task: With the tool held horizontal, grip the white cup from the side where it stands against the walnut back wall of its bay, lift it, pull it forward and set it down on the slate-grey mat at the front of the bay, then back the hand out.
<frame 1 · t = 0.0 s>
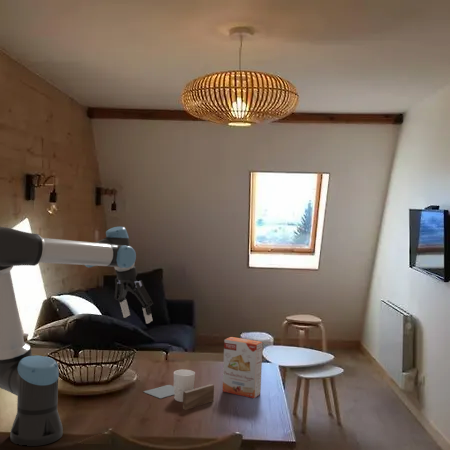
hand: (138, 319, 218), 28 cm above the table, tool tilted 20°, fingers open, 13 cm apart
white cup: (183, 399, 212), on the table
front mat: (164, 391, 220), on the table
cracker box: (241, 394, 221), on the table
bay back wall: (198, 404, 207), on the table
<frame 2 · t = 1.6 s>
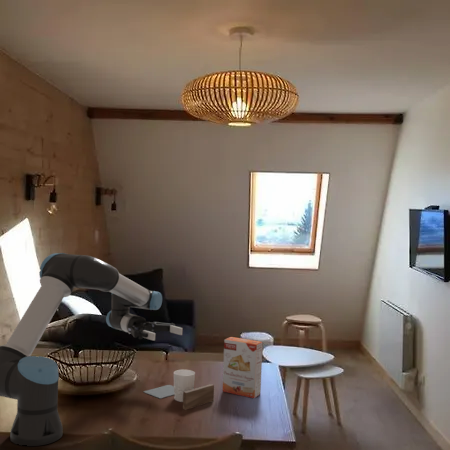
hand: (168, 334, 218), 23 cm above the table, tool horizontal, fingers open, 13 cm apart
nothing on the table moved.
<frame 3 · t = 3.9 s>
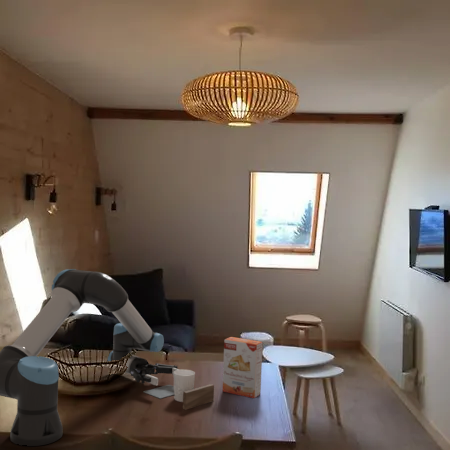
hand: (171, 378, 218), 6 cm above the table, tool horizontal, fingers open, 13 cm apart
nothing on the table moved.
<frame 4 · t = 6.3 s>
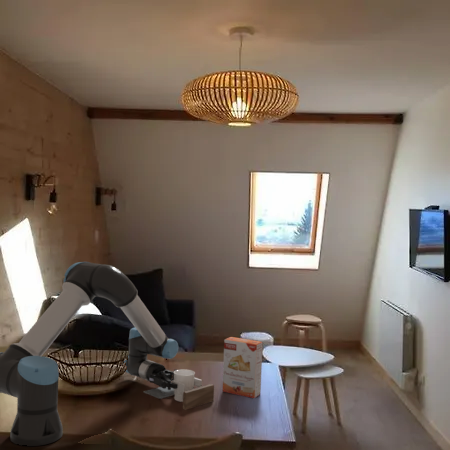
hand: (192, 386, 209), 6 cm above the table, tool horizontal, fingers closed on white cup, 8 cm apart
white cup: (183, 399, 212), on the table, touching gripper
everything else where it was.
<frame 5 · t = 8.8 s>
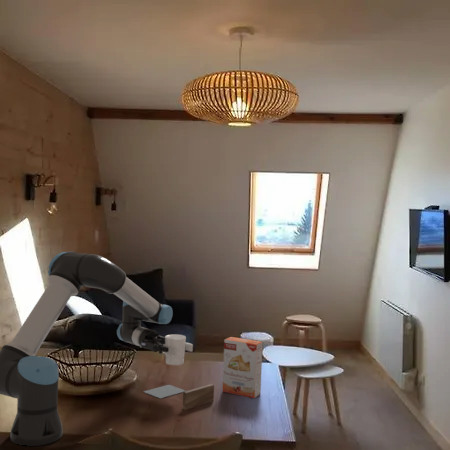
hand: (183, 349, 212), 18 cm above the table, tool horizontal, fingers closed on white cup, 8 cm apart
white cup: (174, 363, 216), point 12 cm above the table, touching gripper
everything else where it was.
when the fingers open (8 cm above the table, at t = 11.5 s): white cup drops 1 cm, resting on front mat.
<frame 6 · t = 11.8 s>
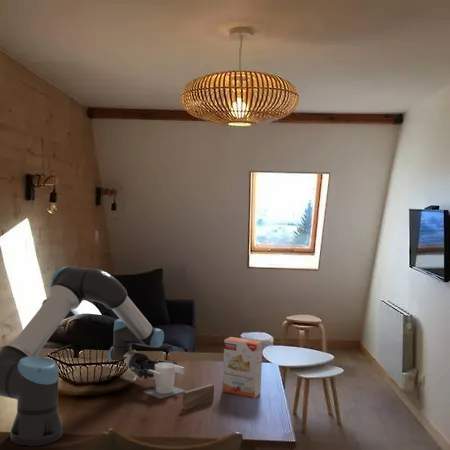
hand: (172, 374, 217), 8 cm above the table, tool horizontal, fingers open, 11 cm apart
white cup: (164, 391, 220), resting on front mat
everything else where it was.
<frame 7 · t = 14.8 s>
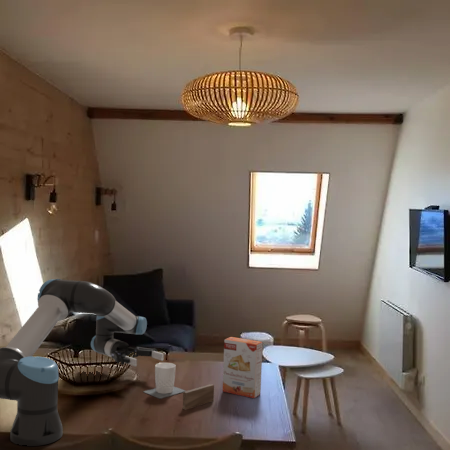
hand: (149, 359, 226), 10 cm above the table, tool horizontal, fingers open, 13 cm apart
nothing on the table moved.
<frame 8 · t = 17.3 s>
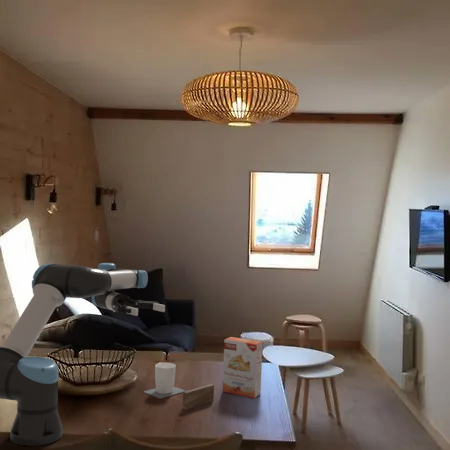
hand: (151, 310, 225), 30 cm above the table, tool horizontal, fingers open, 13 cm apart
nothing on the table moved.
at the end: white cup 0.1 cm from the front mat (horizontally); white cup tilted 0°; the gripper is holding nothing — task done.
